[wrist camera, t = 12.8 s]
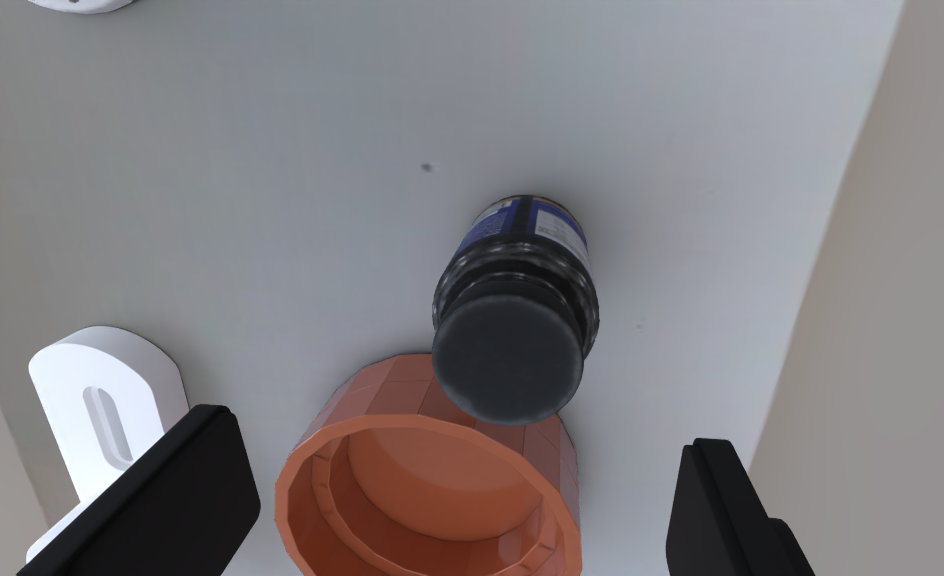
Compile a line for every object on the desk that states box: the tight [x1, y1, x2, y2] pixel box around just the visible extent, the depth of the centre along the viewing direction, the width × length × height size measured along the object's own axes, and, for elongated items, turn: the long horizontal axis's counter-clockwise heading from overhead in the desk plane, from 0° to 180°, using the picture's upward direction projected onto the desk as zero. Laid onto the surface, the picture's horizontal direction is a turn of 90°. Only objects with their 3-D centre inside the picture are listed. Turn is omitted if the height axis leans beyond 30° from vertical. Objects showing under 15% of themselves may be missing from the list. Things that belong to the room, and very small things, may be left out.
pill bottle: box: [432, 195, 600, 426], centre depth 20 cm, size 6×6×11 cm
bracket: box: [26, 326, 189, 564], centre depth 32 cm, size 20×9×7 cm, turn 179°
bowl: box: [275, 354, 582, 576], centre depth 28 cm, size 17×17×6 cm
